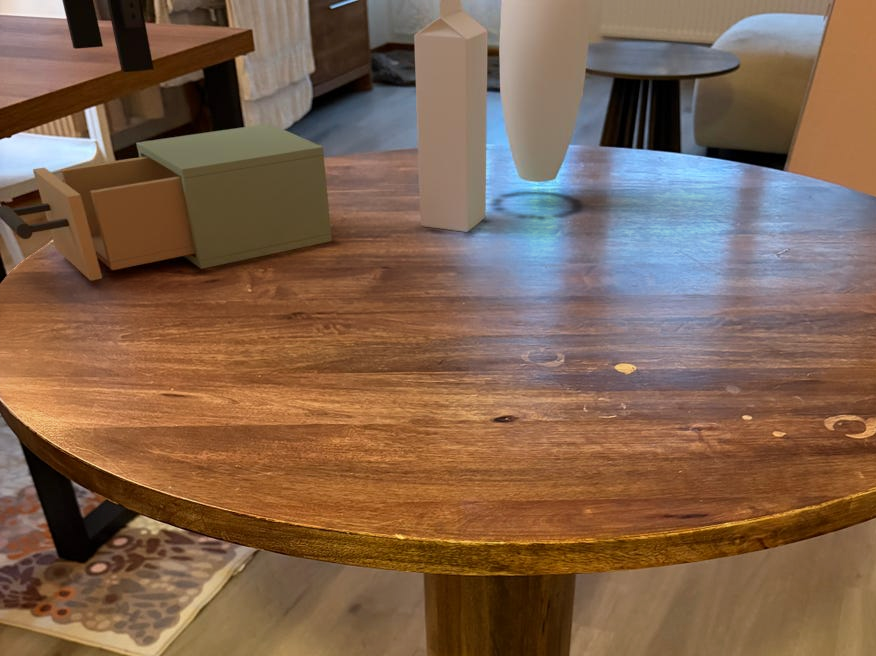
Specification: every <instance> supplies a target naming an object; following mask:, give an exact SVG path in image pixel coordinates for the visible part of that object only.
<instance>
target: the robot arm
mask: <svg viewBox="0 0 876 656" xmlns="http://www.w3.org/2000/svg"><path fill="white" fill-rule="evenodd" d="M106 2H107V6H108V12H109V16H110V17H109V18H110V21H111V26H112V31H113V36H114V37H113V38H114V41H115V47H116V51H117V56H118V60H119V66H120V71H121V72H123V73H131V72H142V71H154V70H155V69H154V62H153V58H152V53H151V47H150V41H149V36H148V31H147V26H146V20H145V13H144V8H143V2H142V0H106ZM62 4H63V9H64V10H63V11H64V13H65V17H66V22H67V26H68V27H67V28H68V31H69V36H70V40H71V44H72V48H73V49H75V50H79V49H91V48H103V47H104V44H103V40H102V35H101V30H100V25H99V21H98V16H97V11H96V8H95V2H94V0H62Z"/></svg>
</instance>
